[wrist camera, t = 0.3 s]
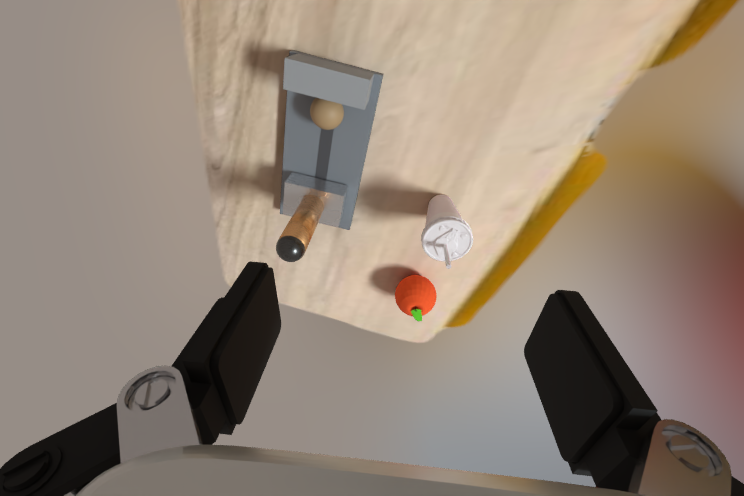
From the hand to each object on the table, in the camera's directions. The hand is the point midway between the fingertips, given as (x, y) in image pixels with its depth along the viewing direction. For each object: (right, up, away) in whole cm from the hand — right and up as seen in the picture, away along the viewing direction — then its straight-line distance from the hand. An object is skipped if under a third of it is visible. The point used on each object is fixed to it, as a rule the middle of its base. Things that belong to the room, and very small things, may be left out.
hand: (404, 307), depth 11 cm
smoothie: (+9, +9, +37) cm, 39 cm away
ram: (-9, +10, +36) cm, 38 cm away
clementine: (+7, -4, +47) cm, 47 cm away
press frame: (-7, +16, +34) cm, 38 cm away
